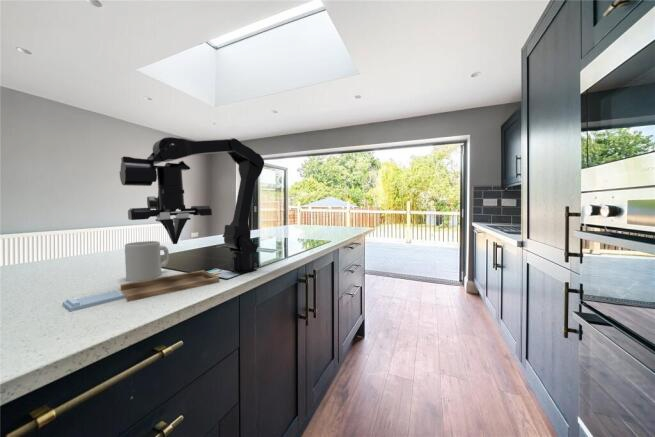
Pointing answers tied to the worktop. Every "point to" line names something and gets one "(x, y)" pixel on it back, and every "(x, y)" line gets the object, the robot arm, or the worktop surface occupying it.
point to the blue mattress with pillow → (92, 300)
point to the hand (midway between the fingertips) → (174, 243)
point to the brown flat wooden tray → (167, 285)
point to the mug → (144, 260)
